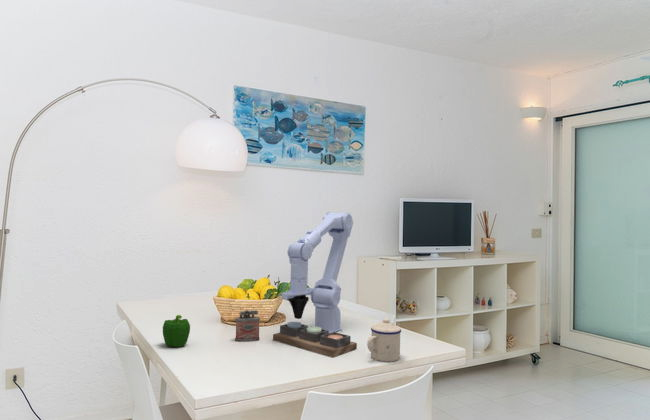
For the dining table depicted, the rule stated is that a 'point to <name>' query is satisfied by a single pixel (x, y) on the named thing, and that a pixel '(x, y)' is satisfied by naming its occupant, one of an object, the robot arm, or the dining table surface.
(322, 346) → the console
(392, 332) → the teacup with lid
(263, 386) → the dining table surface
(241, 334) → the lighter
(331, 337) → the button terracotta
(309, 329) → the button sage
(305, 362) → the dining table surface
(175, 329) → the bell pepper
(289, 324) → the button slate
